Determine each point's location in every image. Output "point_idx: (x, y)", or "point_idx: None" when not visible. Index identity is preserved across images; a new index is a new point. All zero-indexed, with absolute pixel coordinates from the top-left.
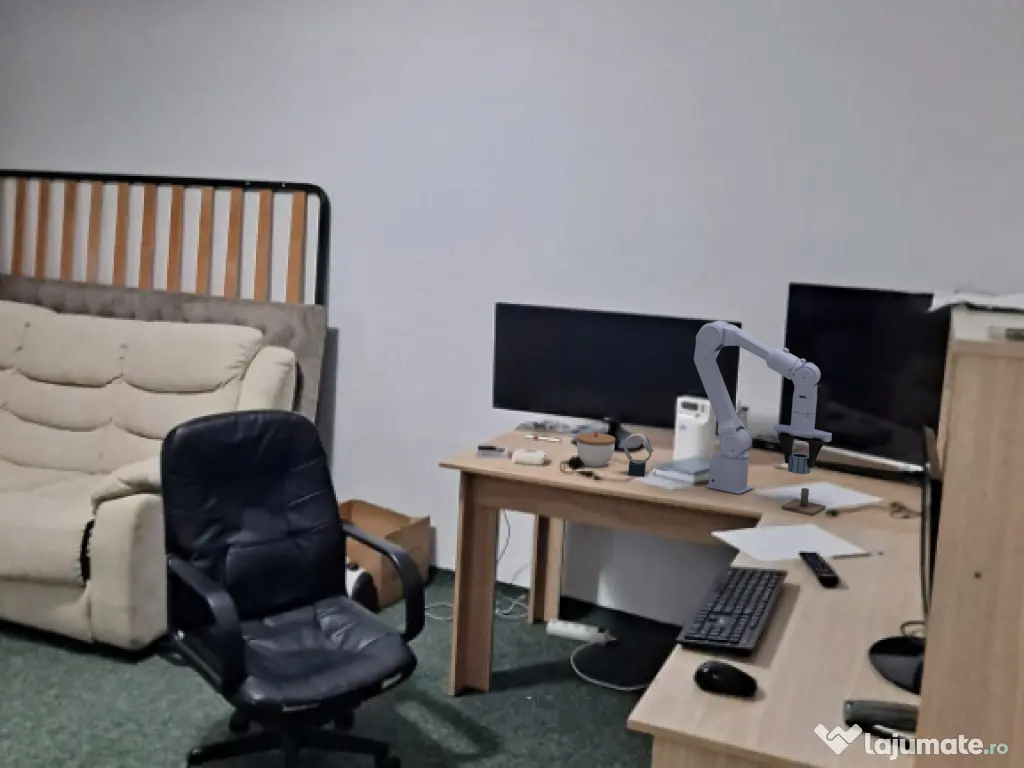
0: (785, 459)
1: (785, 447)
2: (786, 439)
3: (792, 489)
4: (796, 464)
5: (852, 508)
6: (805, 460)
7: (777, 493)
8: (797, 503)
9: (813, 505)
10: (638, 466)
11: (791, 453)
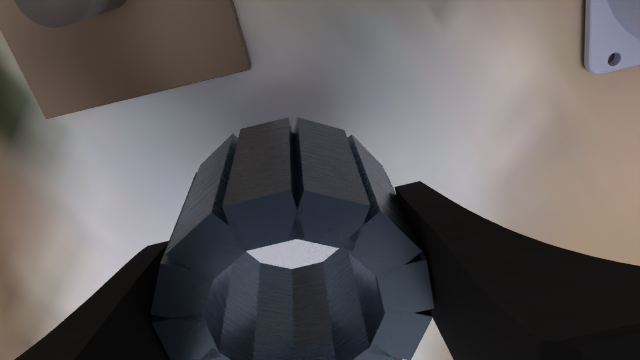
0: (428, 191)
1: (485, 258)
2: (532, 350)
3: None
4: (243, 161)
5: (8, 244)
6: (165, 255)
7: (430, 124)
8: None
9: (78, 47)
10: None
11: (423, 306)
